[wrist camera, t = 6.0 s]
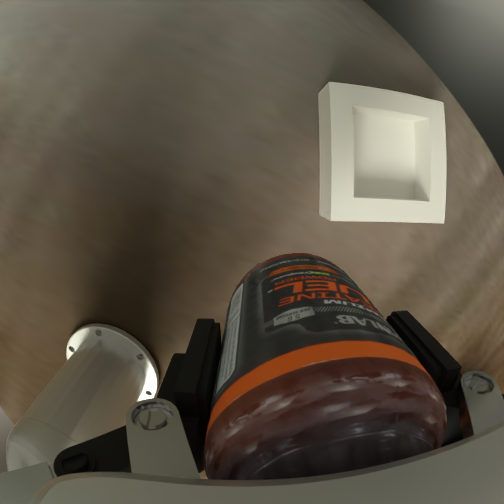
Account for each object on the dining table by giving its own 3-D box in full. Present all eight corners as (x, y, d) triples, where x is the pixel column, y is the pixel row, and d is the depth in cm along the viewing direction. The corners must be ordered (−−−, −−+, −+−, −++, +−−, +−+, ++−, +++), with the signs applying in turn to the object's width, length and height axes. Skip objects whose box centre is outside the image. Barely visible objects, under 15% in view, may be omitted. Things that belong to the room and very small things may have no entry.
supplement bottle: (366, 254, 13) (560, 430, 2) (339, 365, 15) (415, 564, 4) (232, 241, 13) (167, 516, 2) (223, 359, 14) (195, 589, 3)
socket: (422, 217, 29) (444, 223, 25) (319, 214, 29) (330, 220, 25) (422, 108, 26) (443, 102, 22) (318, 93, 26) (328, 81, 22)
